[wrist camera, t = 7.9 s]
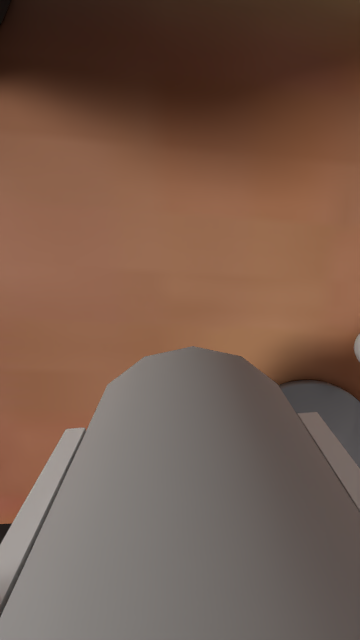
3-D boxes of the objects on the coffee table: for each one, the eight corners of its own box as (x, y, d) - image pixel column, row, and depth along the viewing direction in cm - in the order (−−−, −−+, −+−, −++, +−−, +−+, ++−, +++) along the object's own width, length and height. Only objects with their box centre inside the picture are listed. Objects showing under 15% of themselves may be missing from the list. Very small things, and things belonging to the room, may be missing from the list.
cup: (323, 373, 11) (1074, 1122, 2) (260, 530, 14) (446, 1220, 4) (105, 327, 11) (-442, 1064, 1) (78, 499, 13) (-190, 1214, 4)
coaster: (227, 385, 24) (228, 390, 23) (377, 374, 24) (383, 379, 23) (231, 503, 27) (233, 511, 26) (364, 495, 27) (369, 502, 26)
